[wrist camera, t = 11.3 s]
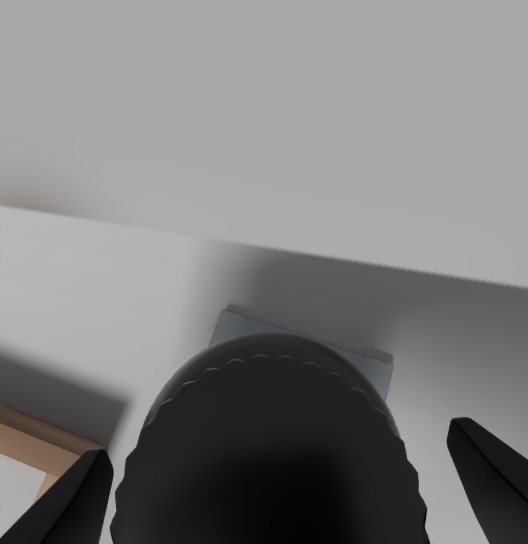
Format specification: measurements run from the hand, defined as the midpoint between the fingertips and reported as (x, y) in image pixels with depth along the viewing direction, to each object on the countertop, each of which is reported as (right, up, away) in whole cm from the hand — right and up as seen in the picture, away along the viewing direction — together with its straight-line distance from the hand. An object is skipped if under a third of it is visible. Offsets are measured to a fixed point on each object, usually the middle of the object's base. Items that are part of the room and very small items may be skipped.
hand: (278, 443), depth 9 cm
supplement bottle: (0, -3, +7) cm, 8 cm away
